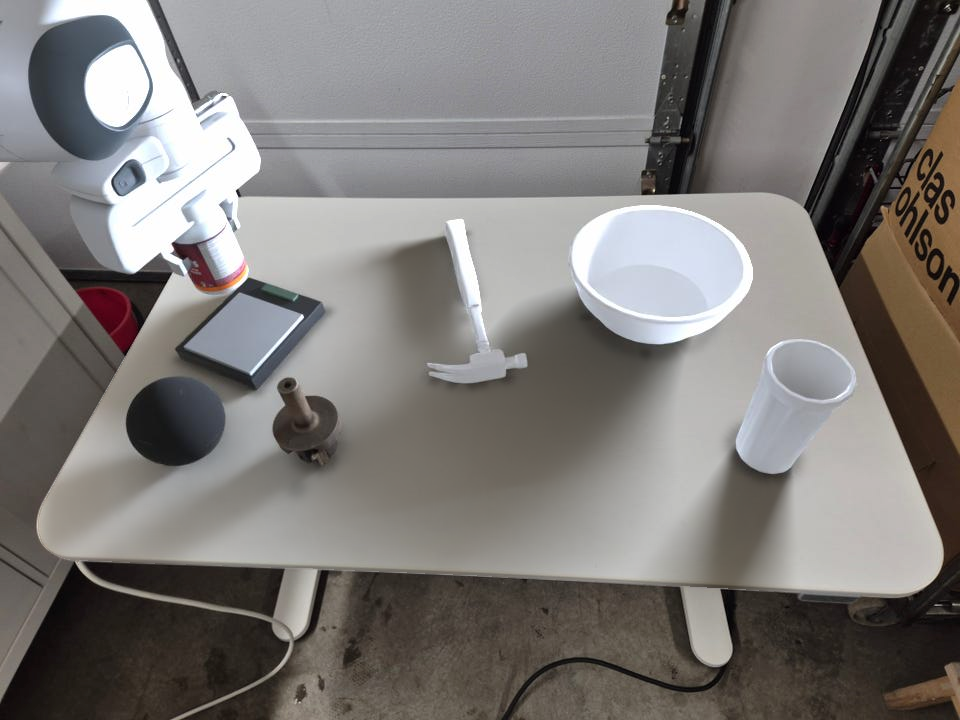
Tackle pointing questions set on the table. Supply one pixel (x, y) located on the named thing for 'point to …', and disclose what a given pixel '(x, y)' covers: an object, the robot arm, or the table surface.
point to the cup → (792, 402)
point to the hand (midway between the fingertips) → (208, 250)
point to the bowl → (658, 272)
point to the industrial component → (306, 424)
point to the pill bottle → (211, 247)
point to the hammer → (473, 320)
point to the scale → (251, 332)
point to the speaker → (175, 421)
